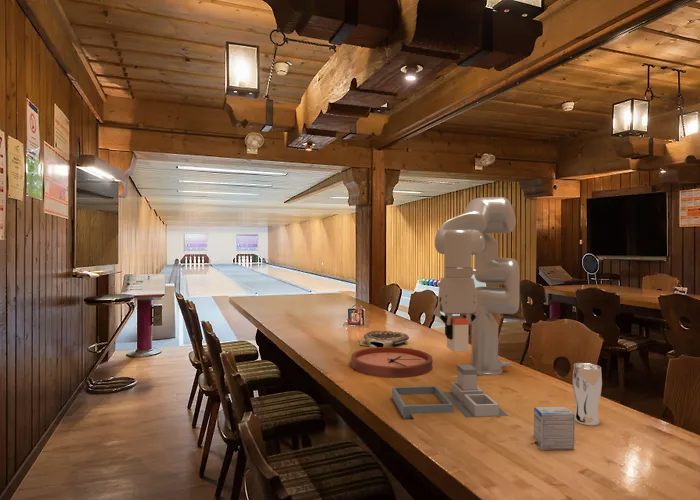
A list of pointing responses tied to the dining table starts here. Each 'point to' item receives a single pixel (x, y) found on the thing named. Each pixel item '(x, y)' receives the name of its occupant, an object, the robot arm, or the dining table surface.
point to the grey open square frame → (412, 409)
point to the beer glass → (587, 392)
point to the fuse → (466, 377)
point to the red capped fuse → (459, 334)
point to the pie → (384, 338)
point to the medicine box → (554, 428)
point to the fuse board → (473, 402)
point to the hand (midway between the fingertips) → (457, 337)
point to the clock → (391, 362)
